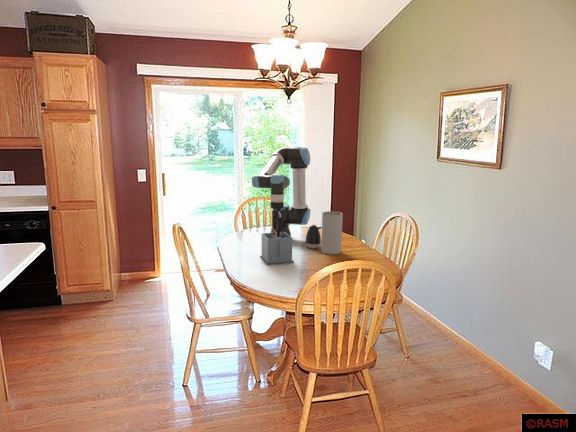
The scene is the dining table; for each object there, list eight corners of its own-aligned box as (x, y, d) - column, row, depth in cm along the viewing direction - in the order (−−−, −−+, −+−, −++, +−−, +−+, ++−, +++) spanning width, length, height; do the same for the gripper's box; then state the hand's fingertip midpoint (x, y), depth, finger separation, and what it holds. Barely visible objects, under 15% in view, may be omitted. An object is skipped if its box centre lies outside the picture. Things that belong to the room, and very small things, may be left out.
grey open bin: (259, 257, 247) (260, 233, 244) (285, 255, 252) (285, 231, 249) (267, 266, 230) (267, 240, 227) (294, 263, 235) (295, 238, 232)
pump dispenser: (320, 250, 264) (320, 227, 261) (304, 249, 266) (304, 226, 263) (322, 246, 274) (322, 223, 271) (306, 245, 276) (307, 222, 273)
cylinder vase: (320, 249, 266) (321, 211, 261) (340, 249, 266) (341, 211, 261) (321, 254, 254) (322, 214, 249) (341, 255, 254) (343, 215, 249)
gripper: (266, 199, 242) (266, 237, 246) (275, 203, 226) (274, 245, 230) (279, 198, 244) (278, 237, 249) (288, 203, 228) (287, 244, 233)
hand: (276, 240), depth 239 cm, fingers closed on plunger, 4 cm apart
